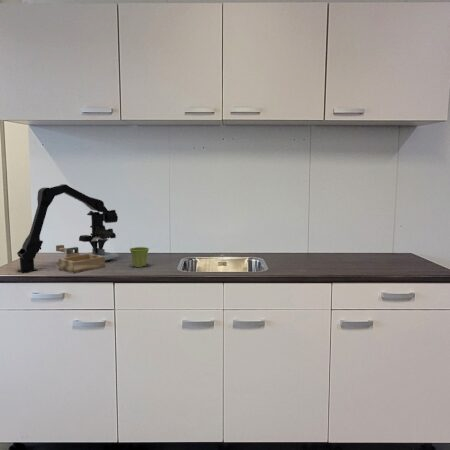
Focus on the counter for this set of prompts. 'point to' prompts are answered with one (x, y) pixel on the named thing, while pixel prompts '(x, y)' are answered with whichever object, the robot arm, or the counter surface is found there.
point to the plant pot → (139, 256)
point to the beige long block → (62, 249)
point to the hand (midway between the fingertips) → (98, 253)
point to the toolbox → (80, 261)
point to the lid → (103, 254)
